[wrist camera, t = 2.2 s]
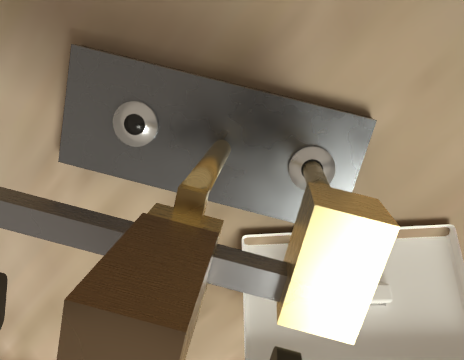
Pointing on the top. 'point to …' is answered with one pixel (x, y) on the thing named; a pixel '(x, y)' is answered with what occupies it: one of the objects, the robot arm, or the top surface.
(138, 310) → the block
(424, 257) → the light switch
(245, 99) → the bolt plate
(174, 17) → the top surface
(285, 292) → the dividers frame
